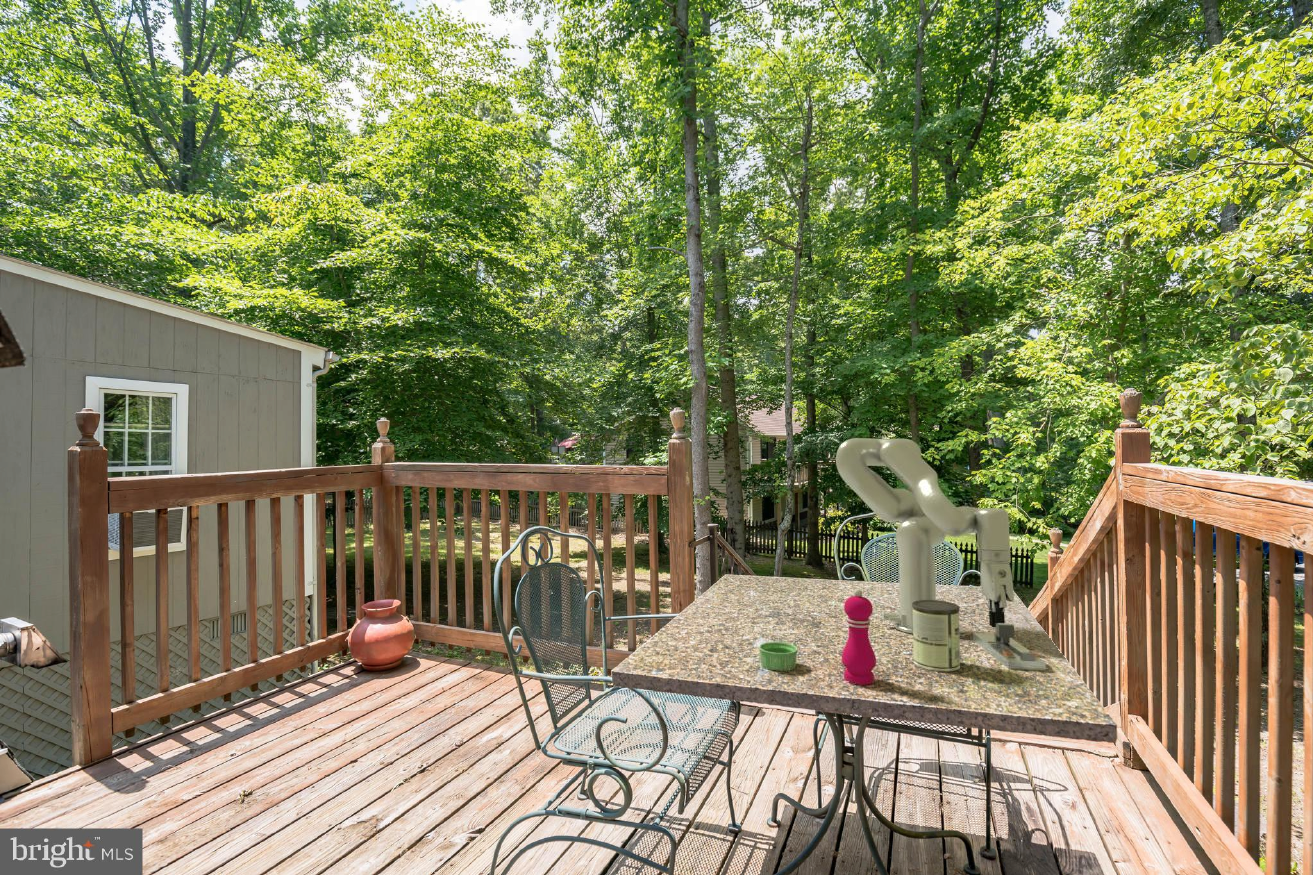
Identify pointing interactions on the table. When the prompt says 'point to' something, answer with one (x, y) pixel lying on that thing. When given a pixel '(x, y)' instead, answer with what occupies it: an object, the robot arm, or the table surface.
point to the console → (1009, 652)
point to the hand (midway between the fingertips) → (997, 626)
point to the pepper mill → (858, 641)
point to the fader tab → (1005, 632)
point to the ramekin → (778, 655)
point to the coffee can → (936, 635)
